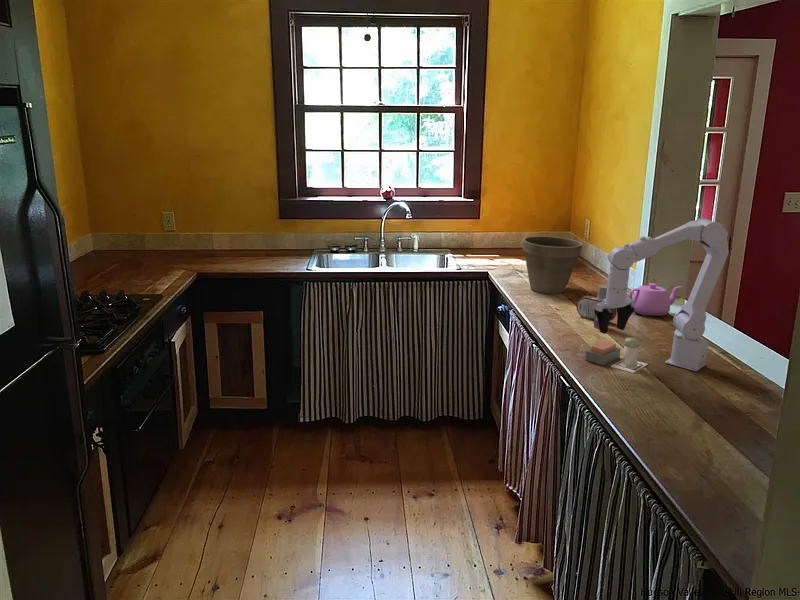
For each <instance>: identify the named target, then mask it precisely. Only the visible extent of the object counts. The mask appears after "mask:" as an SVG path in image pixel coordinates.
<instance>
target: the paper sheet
mask: <svg viewBox="0 0 800 600" xmlns="http://www.w3.org/2000/svg"><path fill="white" fill-rule="evenodd" d="M648 365H649V363H646V362H642V361H640V360H637V366H636V367H627V366H624V365H623V359H621V360H619V361H617V362H616V363H613V364H612V365H610V368H613V369H618V370H620V371H624V372H627V373H631V374H634V373H637V372H638V371H640V370H642V369H643V368H645V367H647V366H648Z"/></svg>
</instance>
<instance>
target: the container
mask: <svg viewBox="0 0 800 600" xmlns="http://www.w3.org/2000/svg"><path fill="white" fill-rule="evenodd" d="M606 293H607V284H601V285H598V288H597V295H596V297H597V301H596V304H598V303H601V302H603V299H606ZM608 311H609V309H608ZM593 328H595V329H596V330H597V329H599V323H598V319H597V316H596V314H595V319H594V320H593Z"/></svg>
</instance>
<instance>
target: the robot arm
mask: <svg viewBox="0 0 800 600" xmlns="http://www.w3.org/2000/svg"><path fill="white" fill-rule="evenodd" d="M728 235H729V232H728V231H727V229H726V228H725V227H724V225H723V224H721V223H720V222H716V221H712V220H711V219H709V218H706V217H701V218H700V217H699V218H698V219H695V220H690V221H687V223H685V224H683V225H680V226H678V227H676V228H674V229H672V230H670V231H667V232H665V233H663V234H661V235H658V236H656V237H654V238H653V237H651V236H645V235H642V236H640V237H639V239H638V240H635V241H632V242H631V243H624V244H623V246H616V247H614V248H612V249H611V251H610V252H609V253H608V255H607V259H608V262H609V263H610V264H609V269H608V270H609V271H608V276H607V284H606V285H607V293H606V299H603V302H601V303H598V304H596V308H595V309H594V312H595V314H596V316H597V319H598V323H599V333H602V334H605V335H607V333H608V330H609V325H610V322H611V321H610V319H611V317H612V315H613V313H610V312H609V311H608V309H614V308H616V311H617V313H616V317H617V318H616V319H617V320H616V329H617V330H621V331H624V330H625V328H626V326H627V323H628V322H629V321H628V320H629V319H630V317H631V316H632V314H633V313H634V312H635V311H634V309H635V308H633V307H631V306H634V300H633V299H630V297H629V298H627V294H628V285H629V278H630V268H631V267H632V266H633V264H634V263H638V262H640V261H643V260H645V259H647V258H650V257H653V256H655V255H657V252H658V251H659V249H662V248H665V247H667V246H671V245H674V244H677V243H679V242H682V241H685V240H691V241H696V242H699V243H701V245H702V247H703V249H704V250H705V251H706V255H705V257H704V261H703V263H702V265H701V267H700V270H699V273H698V274H697V277H696V280H695V282H694V285H693V286H692V289H691V292H690V295H689V296H688V300H686V302H685V303H684V304H683V305H682V306H681V307H680V310H679V311H678V312H677V313H675V315H674V317H673V318H672V319H673V320H672V324H673V326H674V328H675V330H674V332H673V333H674V334H673V338H672V339H673V340H672V347H671V352H670V353H671V354H670V358H668V359H666V360H665V362H664V363H665V364H667V365H672V366H675V367H679V368H683V369H686V370H690V371H693V372H698V371H699V370H700V369H702V368H703V367H706V366H707V363H706V361H707V356H708V355H707V354H708V349H709V342H708V341H707V340H705V339H702V338H701V337H702V336H703V335H704V334H705V331H706V320H707V314H706V308H707V306H708V304H709V301H710V299H711V296H712V294H713V292H714V289H715V286H716V284H717V283H718V280H719V278H720V275H721V272H722V270H723V268H724V265H725V263H726V260H727V258H728V255H729V254H730V253H729V251H730V249H729V244H728Z"/></svg>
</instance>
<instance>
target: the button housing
mask: <svg viewBox="0 0 800 600" xmlns="http://www.w3.org/2000/svg"><path fill="white" fill-rule="evenodd" d="M620 356H621V348H620V347H618V346H616V349H615V350H613V351H611V352H609V353H607V354H605V355H602V354H598V353H595V352H591V348H589V349H587V350H586V351H585V357H584V358H585V359H584V360H585V361H586V360H588V361H587V362H590V361H591V362H590V363H593V362H594V363H593V364H597V365H601V366H606V365H608V364H610V363H611V362H613V361H615V360H617V359H619V358H620Z"/></svg>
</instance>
